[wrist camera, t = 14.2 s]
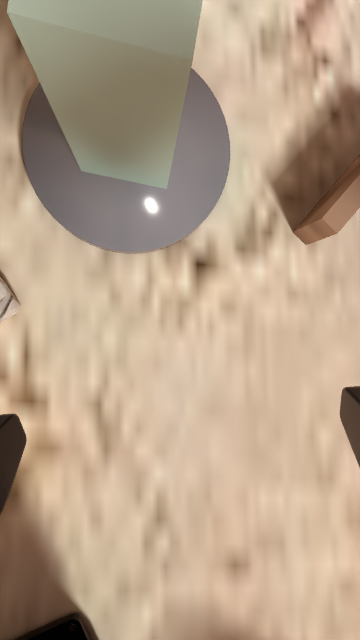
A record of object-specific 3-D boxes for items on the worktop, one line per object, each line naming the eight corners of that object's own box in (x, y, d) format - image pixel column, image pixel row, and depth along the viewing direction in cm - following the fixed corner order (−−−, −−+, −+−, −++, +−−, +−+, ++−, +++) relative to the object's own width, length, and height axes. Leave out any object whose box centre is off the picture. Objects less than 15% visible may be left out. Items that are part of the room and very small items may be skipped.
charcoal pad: (73, 281, 20) (70, 280, 19) (-6, 85, 19) (-13, 76, 18) (253, 215, 21) (257, 212, 20) (187, 26, 20) (188, 15, 19)
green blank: (166, 189, 20) (192, 59, 9) (81, 171, 19) (6, 11, 9) (180, 104, 20) (222, -123, 9) (95, 83, 19) (36, -185, 9)
